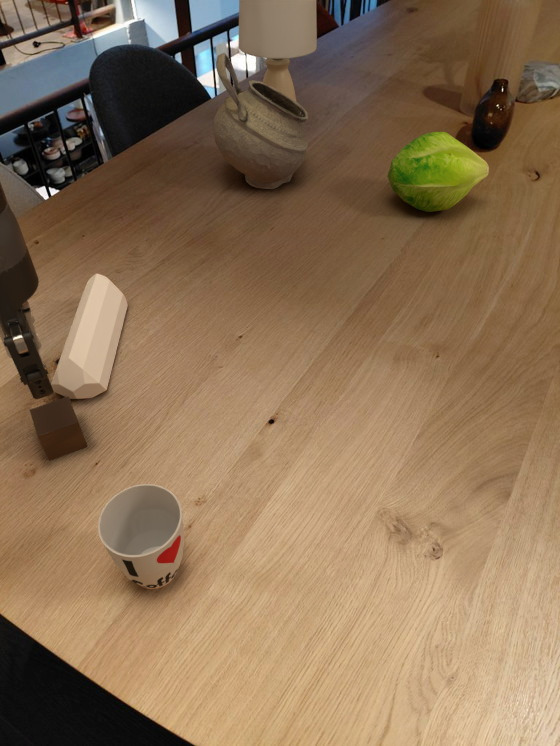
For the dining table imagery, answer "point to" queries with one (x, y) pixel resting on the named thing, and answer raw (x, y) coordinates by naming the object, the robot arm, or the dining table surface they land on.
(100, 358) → the crystal
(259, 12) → the lamp
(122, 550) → the cup
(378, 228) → the dining table surface
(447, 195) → the lettuce
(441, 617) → the dining table surface
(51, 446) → the walnut block
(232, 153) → the pot
